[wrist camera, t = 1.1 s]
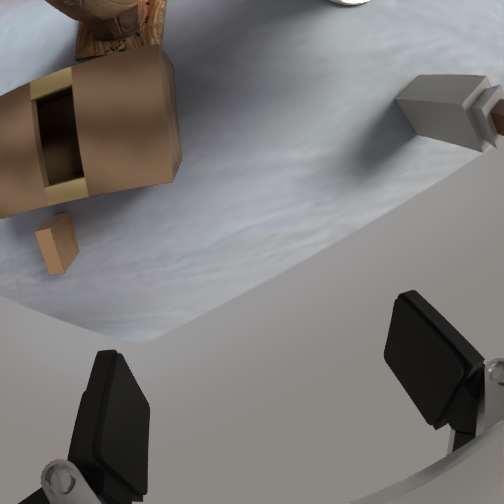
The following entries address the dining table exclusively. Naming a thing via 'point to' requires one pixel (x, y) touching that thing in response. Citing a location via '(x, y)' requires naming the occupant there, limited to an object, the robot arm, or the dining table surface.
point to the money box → (89, 131)
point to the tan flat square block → (57, 243)
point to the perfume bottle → (455, 109)
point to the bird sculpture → (114, 24)
